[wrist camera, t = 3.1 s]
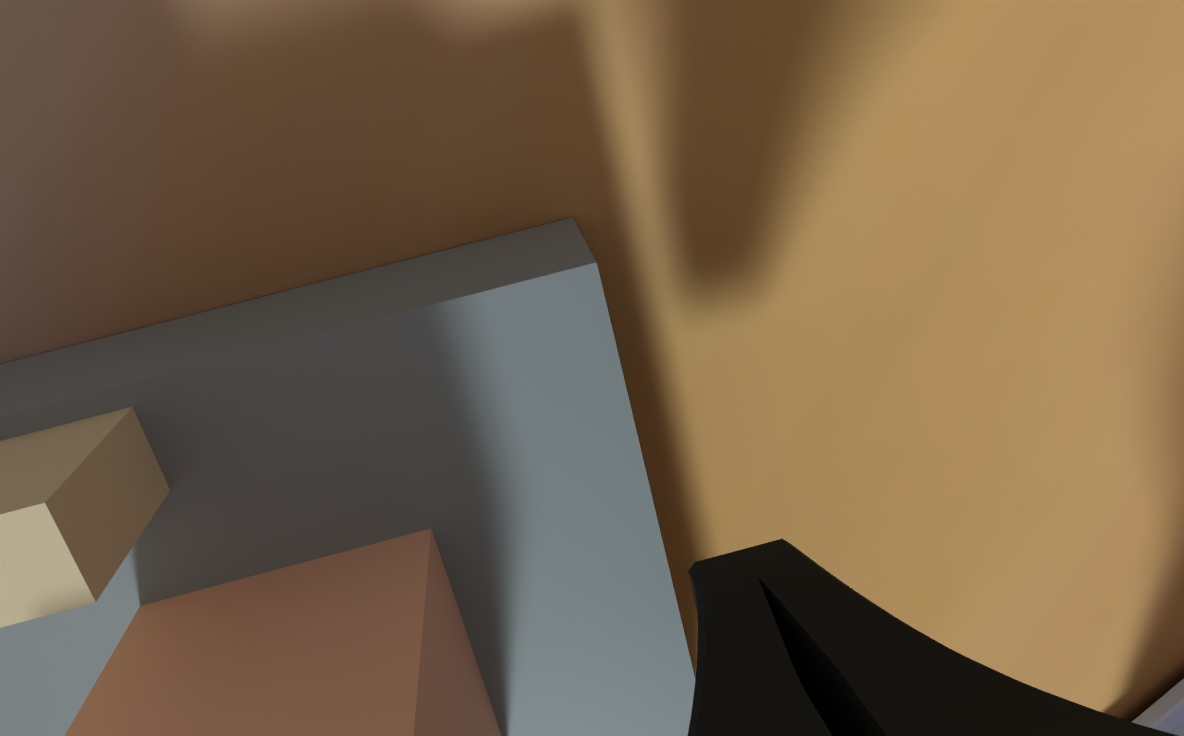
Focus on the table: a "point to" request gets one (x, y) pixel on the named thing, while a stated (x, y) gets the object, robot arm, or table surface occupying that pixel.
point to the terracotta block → (301, 655)
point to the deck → (353, 479)
